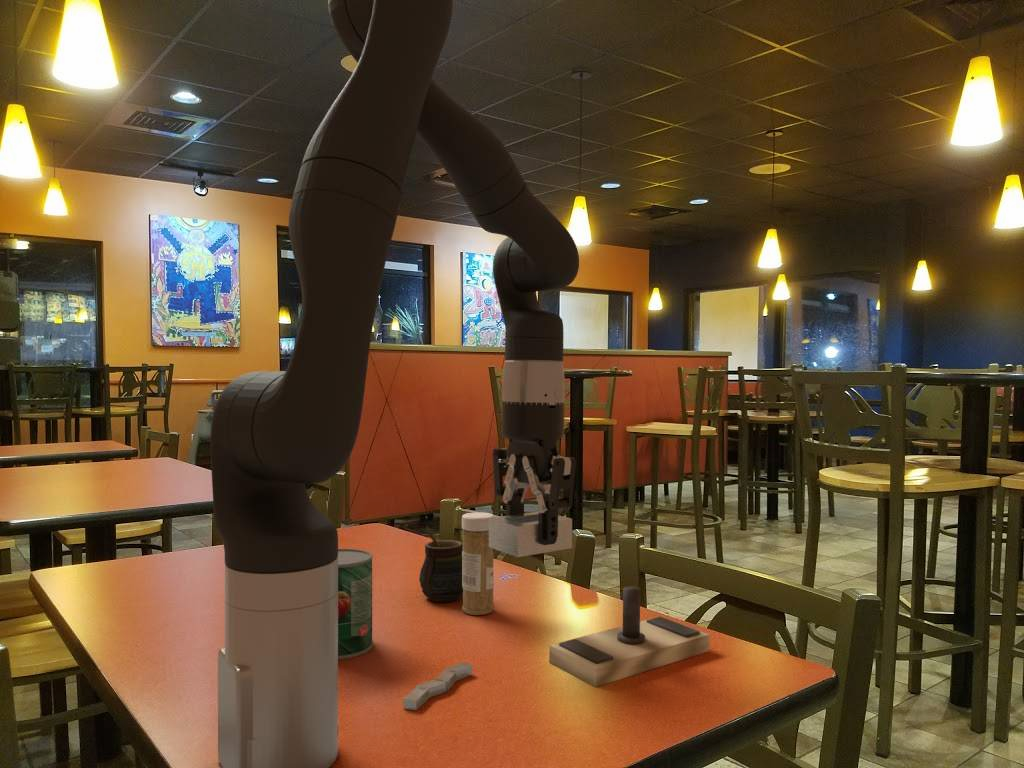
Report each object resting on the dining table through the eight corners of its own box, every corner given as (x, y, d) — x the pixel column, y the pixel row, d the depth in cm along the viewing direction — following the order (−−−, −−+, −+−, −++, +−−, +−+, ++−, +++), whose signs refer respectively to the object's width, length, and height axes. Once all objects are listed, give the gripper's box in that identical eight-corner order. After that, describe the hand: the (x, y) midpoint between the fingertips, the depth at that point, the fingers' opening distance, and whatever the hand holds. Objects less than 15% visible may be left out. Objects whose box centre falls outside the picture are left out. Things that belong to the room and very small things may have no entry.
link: (517, 557, 85) (517, 526, 85) (488, 547, 90) (488, 518, 90) (571, 547, 89) (572, 518, 89) (541, 538, 94) (541, 511, 94)
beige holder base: (595, 687, 79) (596, 611, 79) (549, 662, 85) (549, 593, 85) (709, 651, 89) (710, 584, 89) (660, 631, 96) (660, 569, 96)
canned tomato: (378, 635, 94) (378, 548, 93) (364, 660, 86) (364, 565, 86) (316, 634, 94) (316, 547, 94) (296, 659, 86) (296, 564, 86)
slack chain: (414, 711, 73) (414, 701, 73) (396, 706, 74) (396, 696, 74) (475, 674, 82) (475, 665, 82) (459, 669, 83) (459, 660, 83)
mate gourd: (448, 608, 104) (447, 537, 104) (407, 600, 109) (406, 531, 108) (478, 595, 110) (478, 528, 110) (439, 588, 115) (438, 523, 114)
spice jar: (500, 612, 103) (501, 515, 103) (471, 618, 100) (472, 518, 100) (483, 603, 107) (483, 510, 106) (455, 609, 104) (455, 513, 104)
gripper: (474, 397, 93) (472, 531, 93) (544, 400, 82) (542, 554, 82) (523, 397, 98) (521, 525, 98) (596, 400, 86) (594, 546, 86)
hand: (530, 538), depth 90 cm, fingers closed on link, 6 cm apart
